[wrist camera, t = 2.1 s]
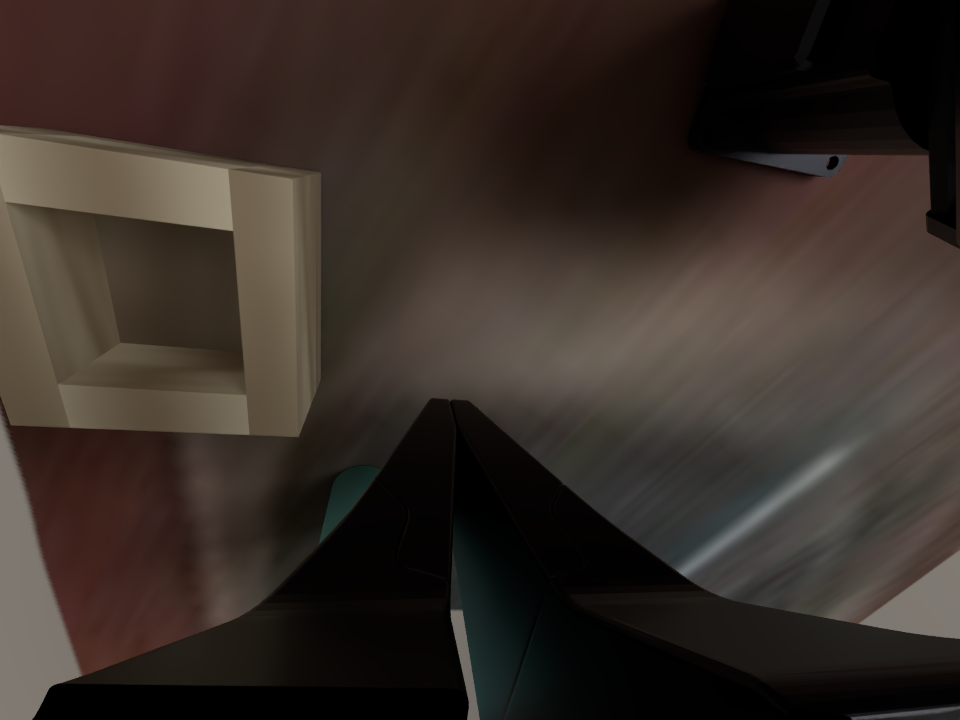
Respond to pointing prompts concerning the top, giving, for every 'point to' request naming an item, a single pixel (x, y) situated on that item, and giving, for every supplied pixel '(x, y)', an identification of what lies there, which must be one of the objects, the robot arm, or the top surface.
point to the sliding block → (156, 287)
